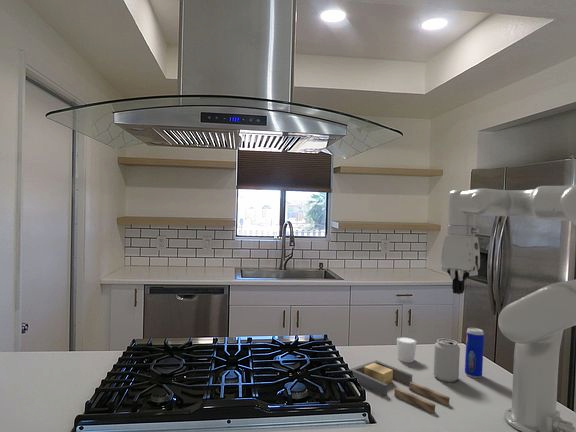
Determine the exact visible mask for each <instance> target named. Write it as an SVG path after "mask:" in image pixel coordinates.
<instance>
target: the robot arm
mask: <svg viewBox="0 0 576 432" xmlns="http://www.w3.org/2000/svg"><path fill="white" fill-rule="evenodd" d="M447 205H448V208H447V231H446V234H445V236H444V238H443V242H442V247H441V254H440V255H441V257H440V263H441V271H442V272H445V273H447V274H448V275H449V276H450V279H451V280H452V287H451V289H452V294H457V295H460V294H463V293H464V291H465V289H466V288H465V285H466V282H465V281H466V280H467V279H469V277H473V276H478V275H479V272H478V270H479V269H480V267H481V254H480V253H481V252H480V251H481V250H480V242H479V238H478V237H477V236H476V234H479V233H480V229H479V228H477V227H476V218H477V217H476V216H477V215H478V216H485V217H486V216H487V217H488V216H494V217H517V218H519V217H520V218H531V219H535V220H541V221H558V222H559V221H560V222H565V221H566V222H571V223H572V224H573V225H574V226H576V184H574V185H540V186H537V187H536V188H534V189H523V190H522V189H521V190H520V189H519V190H517V189H515V190H513V189H512V190H511V189H509V190H505V189H497V188H496V189H495V188H487V187H486V188H485V187H484V188H483V187H482V188H474V189H453V190H451V191H449V194H448V203H447ZM497 321H498V322H497V323H498V324H497V325H498V327H499V330H500V332H501V333H502V335H503V336H504V337H505V338H507V339H508V340H509V341H511V342H512V343H515V344H514V351H513V352H514V353H513V369H512V371H513V373H512V395H511V408H507V409H506V410H505V411H504V415H503V416H504V417H503V418H504V420H505V422H506V423H508V424H509V426H511V427H513V428H514V429H516V430H518V431H519V432H576V426H574V422H571V421H568V420H565V419H563V418H562V417H561V411H559V410H557V404H558V403H557V402H558V401H557V400H558V397H557V396H558V380H559V379H558V377H559V365H560V364H559V363H560V362H559V361H560V352H561V351H560V350H561V344H562V338H563V335H564V330H566V329H570V328H571V327H574V326H576V279H572V280H565V281H560V282H555V283H554V282H553V283H551V284H548V285H546V286H543V287H541V288H539V289H537V290H535V291H533V292H531V293H529V294H527V295H525V296H524V297H520V298H519V299H517V300H515V301H513V302H511V303H508V304H507V305H506V306H505V307H503V309H501V310H500V313H499V315H498V320H497Z"/></svg>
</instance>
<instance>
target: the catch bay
mask: <svg viewBox="0 0 576 432" xmlns="http://www.w3.org/2000/svg"><path fill="white" fill-rule="evenodd" d="M372 363H375V364H378V365H381V366H384V367H386V368H389V369H392V370H393V380H396V381H399V382H401V383H403V384H406V385H408V386H409V383H410V382H413V374H412V373H409V372H407V371H405V370H402V369H399V368H397V367H396V366H395V367H394V366H392V365H390V364H388V363H384V362H382V361H379V360H373V361H370V362H367V363H365V364H362V365H359V366H355V367H352V368H349V369H348V371H349V370H351V371H352V372H353V375H354V377H356V378H357V379H358V382H359V385H360V386H363V387H365V388H366V389H370V390H371V391H374V392H376V393H377V394H379V395H382V396H384V397H385V396H387V395H388V389H389V388H388V386H389V384H385V383H383V382H381V381H379V380H377V379H374V378H372V377H370V376H368V375H365V374H364V367H365V366H368V365H370V364H372Z"/></svg>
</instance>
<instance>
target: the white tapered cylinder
mask: <svg viewBox="0 0 576 432" xmlns="http://www.w3.org/2000/svg"><path fill="white" fill-rule="evenodd" d="M417 342H418V341H417V339H414V338H411V337H407V336H406V337H404V336H402V337H401V336H400V337H397V338H396V349H397V350H396V351H397V352H396V353H397V359H398V361H400V362H403V363H413V362H414V361H415V356H416V351H417V350H416V348H417Z"/></svg>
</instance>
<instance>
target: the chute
mask: <svg viewBox="0 0 576 432" xmlns="http://www.w3.org/2000/svg"><path fill="white" fill-rule="evenodd" d="M408 387H409V388H408V389H409V390H410V391H412V392H414V393H417V394H419V395H421V396H423V397H426V398H428V399H430V398H431V400H433V399H434V400H433V401H435V402H437V401H438V403H441V404H442V405H444V404H445V405H444V406H449V405H450V399H451V398H450V396H447V395H446V394H442V393H440V392H438V391H435V390H433V389H430V388H428V387H426V386H423V385H422V384H419V383H416V382H414V381H412V382H410V383H409V385H408ZM393 394H394V396H393V397H397V398H399V399H400V400H402V401H405V402H407V403H410V404H411V405H413V406H416V407H418V408H420V409H422V410H424V411H426V412H429V413H430V414H434V413H436V404H435V403H433V402H430V401H428V400H426V399H423V398H422V397H419V396H417V395H415V394H412V393H410V392H408V391H406V390H403V389H401V388H399V387H396V388H394V393H393Z"/></svg>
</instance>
